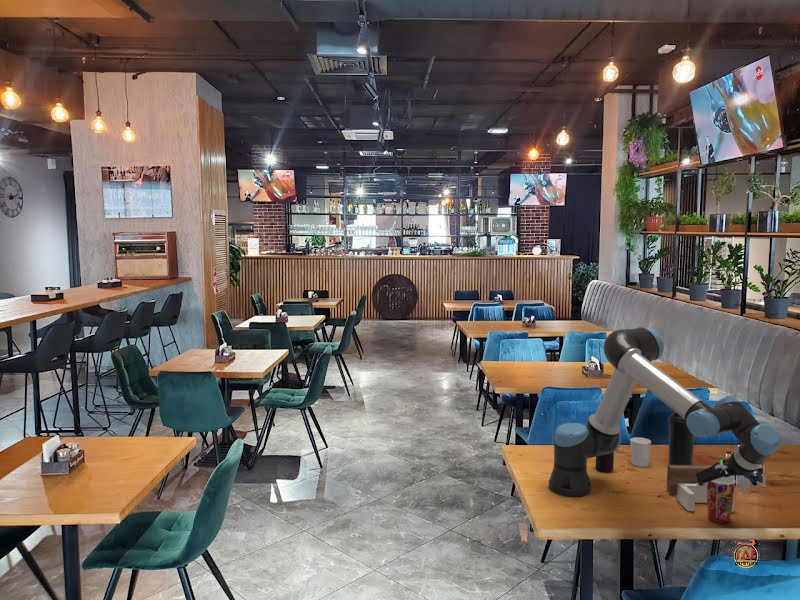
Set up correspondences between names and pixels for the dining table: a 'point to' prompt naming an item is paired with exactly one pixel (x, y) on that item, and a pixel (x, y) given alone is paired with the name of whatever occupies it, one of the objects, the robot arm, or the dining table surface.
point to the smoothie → (720, 498)
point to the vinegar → (605, 463)
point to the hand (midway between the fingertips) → (719, 487)
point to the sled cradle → (692, 496)
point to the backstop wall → (682, 476)
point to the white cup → (640, 451)
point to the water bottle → (680, 441)
